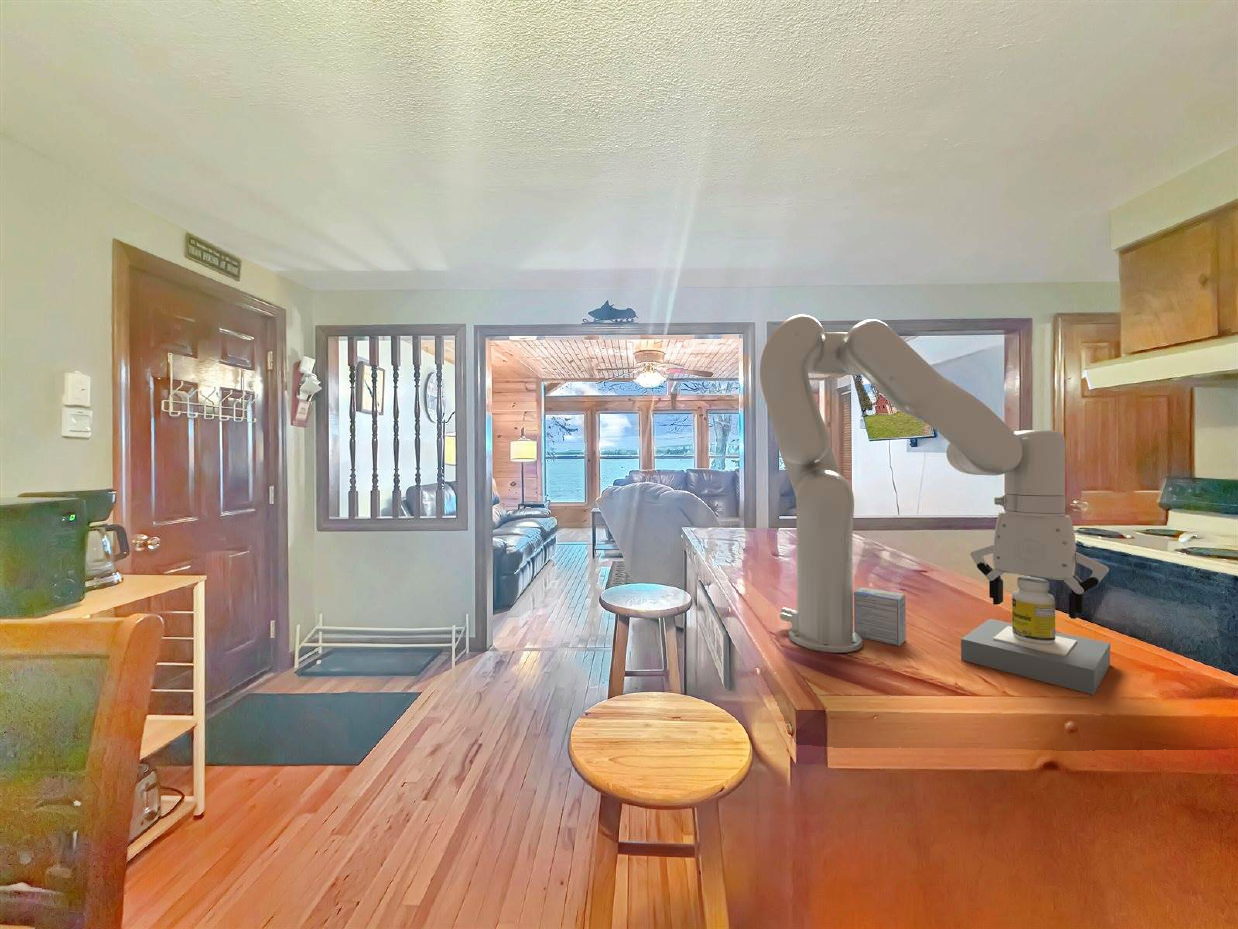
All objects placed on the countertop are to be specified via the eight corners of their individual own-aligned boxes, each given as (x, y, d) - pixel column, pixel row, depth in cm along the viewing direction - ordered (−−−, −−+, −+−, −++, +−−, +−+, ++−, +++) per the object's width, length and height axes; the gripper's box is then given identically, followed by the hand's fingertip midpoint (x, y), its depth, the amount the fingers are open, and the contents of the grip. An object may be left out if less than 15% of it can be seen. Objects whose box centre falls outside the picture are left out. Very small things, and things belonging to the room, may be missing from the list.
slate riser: (961, 659, 81) (961, 637, 81) (989, 637, 92) (989, 617, 91) (1094, 695, 69) (1094, 668, 69) (1110, 664, 79) (1110, 641, 79)
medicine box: (906, 640, 90) (906, 593, 90) (900, 647, 87) (900, 598, 87) (860, 630, 96) (860, 586, 96) (853, 636, 93) (853, 591, 93)
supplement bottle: (1004, 632, 83) (1004, 575, 83) (1039, 634, 83) (1039, 576, 82) (1026, 644, 78) (1026, 583, 78) (1064, 646, 77) (1064, 584, 77)
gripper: (964, 503, 84) (964, 602, 85) (1104, 511, 71) (1104, 628, 71) (977, 501, 89) (978, 594, 89) (1111, 507, 76) (1111, 618, 76)
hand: (1034, 609), depth 80 cm, fingers open, 9 cm apart
